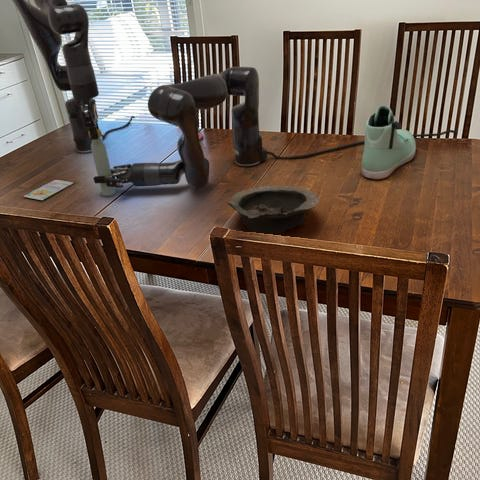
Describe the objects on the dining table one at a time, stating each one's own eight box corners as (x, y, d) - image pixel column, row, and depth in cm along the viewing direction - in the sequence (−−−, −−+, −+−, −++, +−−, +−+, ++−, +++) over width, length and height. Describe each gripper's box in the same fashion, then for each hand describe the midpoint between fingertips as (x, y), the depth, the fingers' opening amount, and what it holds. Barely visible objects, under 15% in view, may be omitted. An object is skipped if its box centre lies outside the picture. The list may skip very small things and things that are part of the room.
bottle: (107, 189, 162) (93, 129, 151) (118, 191, 161) (104, 130, 150) (99, 195, 159) (84, 134, 148) (110, 196, 157) (96, 135, 146)
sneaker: (420, 146, 175) (428, 89, 165) (399, 183, 150) (406, 120, 139) (383, 142, 181) (388, 87, 171) (356, 177, 156) (360, 116, 145)
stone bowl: (258, 254, 121) (254, 221, 116) (217, 221, 141) (212, 192, 137) (338, 225, 129) (337, 193, 125) (288, 198, 150) (286, 170, 145)
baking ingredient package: (22, 195, 161) (55, 178, 172) (23, 197, 161) (55, 180, 172) (41, 199, 157) (74, 182, 169) (42, 200, 157) (74, 183, 169)
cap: (88, 139, 148) (86, 133, 147) (91, 134, 151) (89, 129, 150) (100, 138, 148) (99, 132, 147) (103, 133, 151) (101, 128, 150)
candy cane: (171, 147, 193) (170, 143, 192) (194, 135, 203) (194, 131, 202) (182, 149, 190) (182, 145, 189) (206, 137, 200) (205, 133, 199)
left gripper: (73, 76, 146) (86, 131, 155) (65, 87, 134) (80, 146, 143) (98, 74, 147) (109, 128, 156) (93, 84, 135) (106, 143, 144)
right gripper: (150, 155, 159) (100, 157, 161) (141, 172, 147) (87, 175, 149) (154, 176, 163) (105, 178, 165) (145, 194, 151) (92, 196, 153)
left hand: (95, 136), depth 149 cm, fingers closed on cap, 3 cm apart
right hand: (97, 176), depth 157 cm, fingers closed on bottle, 4 cm apart
